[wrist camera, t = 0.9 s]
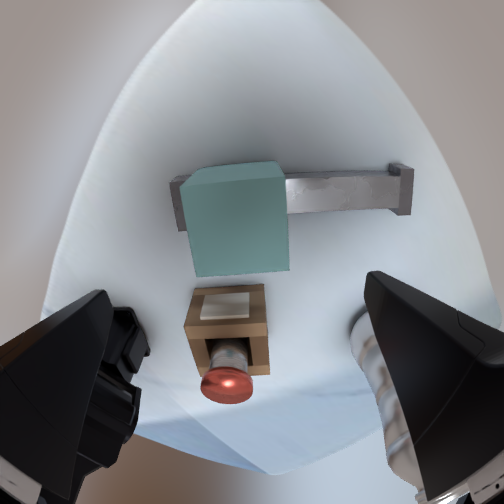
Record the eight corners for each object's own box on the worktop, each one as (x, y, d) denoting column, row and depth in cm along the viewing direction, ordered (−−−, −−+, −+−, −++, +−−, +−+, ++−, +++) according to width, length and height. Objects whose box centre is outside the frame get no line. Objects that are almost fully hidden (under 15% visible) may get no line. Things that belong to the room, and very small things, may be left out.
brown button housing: (207, 338, 27) (200, 376, 22) (194, 285, 24) (182, 323, 20) (267, 335, 27) (270, 374, 22) (263, 281, 24) (265, 319, 19)
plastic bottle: (338, 347, 28) (383, 528, 10) (353, 296, 25) (434, 507, 7) (390, 343, 28) (452, 500, 10) (410, 294, 25) (506, 465, 7)
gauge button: (213, 352, 23) (206, 403, 19) (205, 322, 22) (195, 375, 17) (254, 351, 23) (254, 403, 18) (250, 320, 22) (250, 374, 17)
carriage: (212, 228, 21) (196, 277, 15) (203, 164, 19) (179, 186, 13) (278, 223, 21) (289, 270, 15) (274, 157, 19) (285, 176, 13)
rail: (184, 221, 21) (178, 231, 20) (176, 176, 20) (169, 182, 18) (399, 206, 21) (410, 215, 19) (401, 164, 19) (414, 168, 17)
